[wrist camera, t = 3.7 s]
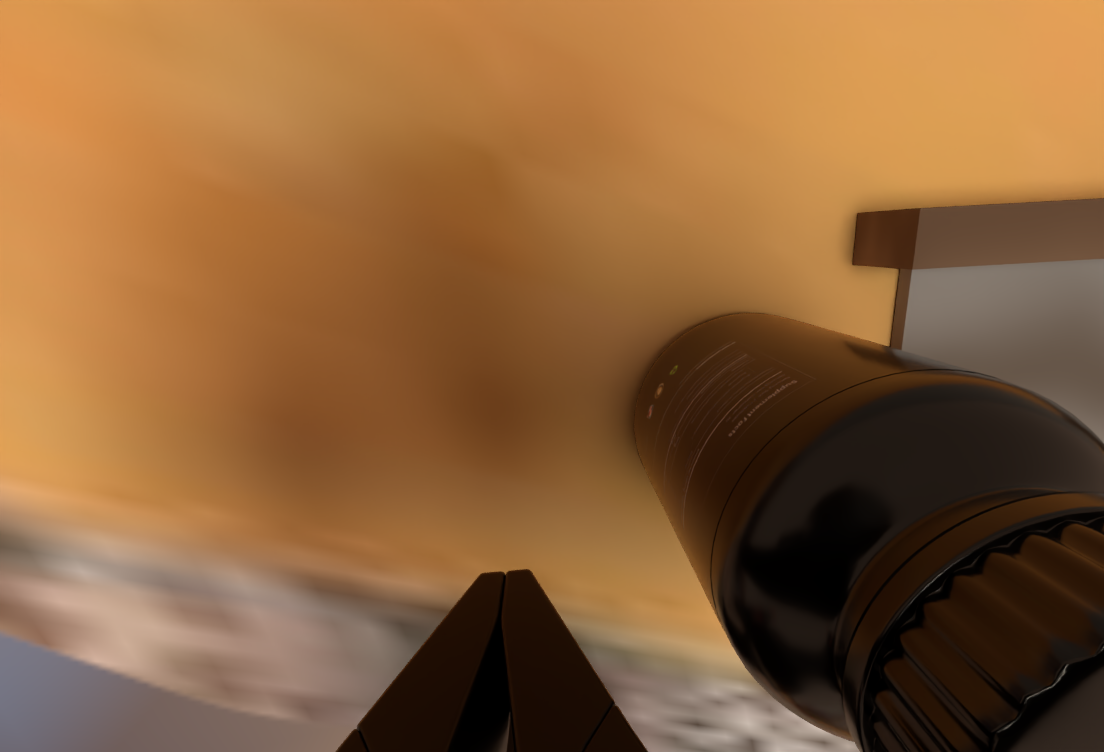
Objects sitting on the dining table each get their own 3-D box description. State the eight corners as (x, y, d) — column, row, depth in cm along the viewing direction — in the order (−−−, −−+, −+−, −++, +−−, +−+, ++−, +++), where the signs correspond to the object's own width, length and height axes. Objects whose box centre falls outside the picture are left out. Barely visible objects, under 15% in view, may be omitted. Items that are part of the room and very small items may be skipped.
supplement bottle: (876, 361, 16) (1722, 661, 5) (767, 533, 18) (1207, 1081, 6) (691, 269, 15) (1191, 367, 4) (591, 461, 17) (729, 952, 5)
